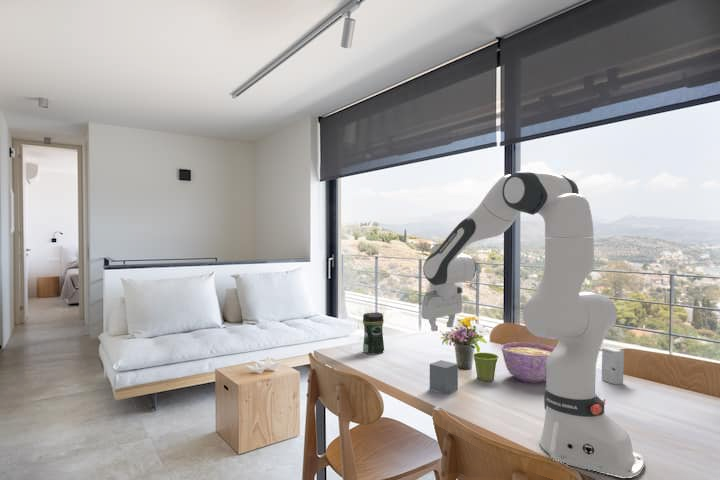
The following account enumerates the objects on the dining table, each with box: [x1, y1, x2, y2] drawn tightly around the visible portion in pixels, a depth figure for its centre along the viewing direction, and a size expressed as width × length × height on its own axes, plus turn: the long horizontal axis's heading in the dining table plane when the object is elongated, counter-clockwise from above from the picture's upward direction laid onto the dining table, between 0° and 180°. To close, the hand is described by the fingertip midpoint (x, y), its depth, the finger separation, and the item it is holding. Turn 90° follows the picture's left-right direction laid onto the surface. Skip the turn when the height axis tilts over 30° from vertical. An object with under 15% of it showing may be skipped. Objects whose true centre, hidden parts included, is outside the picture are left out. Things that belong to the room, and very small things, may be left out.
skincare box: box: [601, 346, 625, 385], centre depth 159 cm, size 6×4×12 cm
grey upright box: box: [429, 359, 459, 395], centre depth 151 cm, size 7×7×9 cm
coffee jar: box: [362, 312, 385, 354], centre depth 202 cm, size 10×8×19 cm
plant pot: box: [472, 352, 499, 382], centre depth 163 cm, size 9×9×9 cm
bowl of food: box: [501, 341, 556, 384], centre depth 162 cm, size 20×20×12 cm
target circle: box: [429, 388, 456, 394], centre depth 152 cm, size 9×9×1 cm
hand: (442, 328), depth 152 cm, fingers open, 8 cm apart
